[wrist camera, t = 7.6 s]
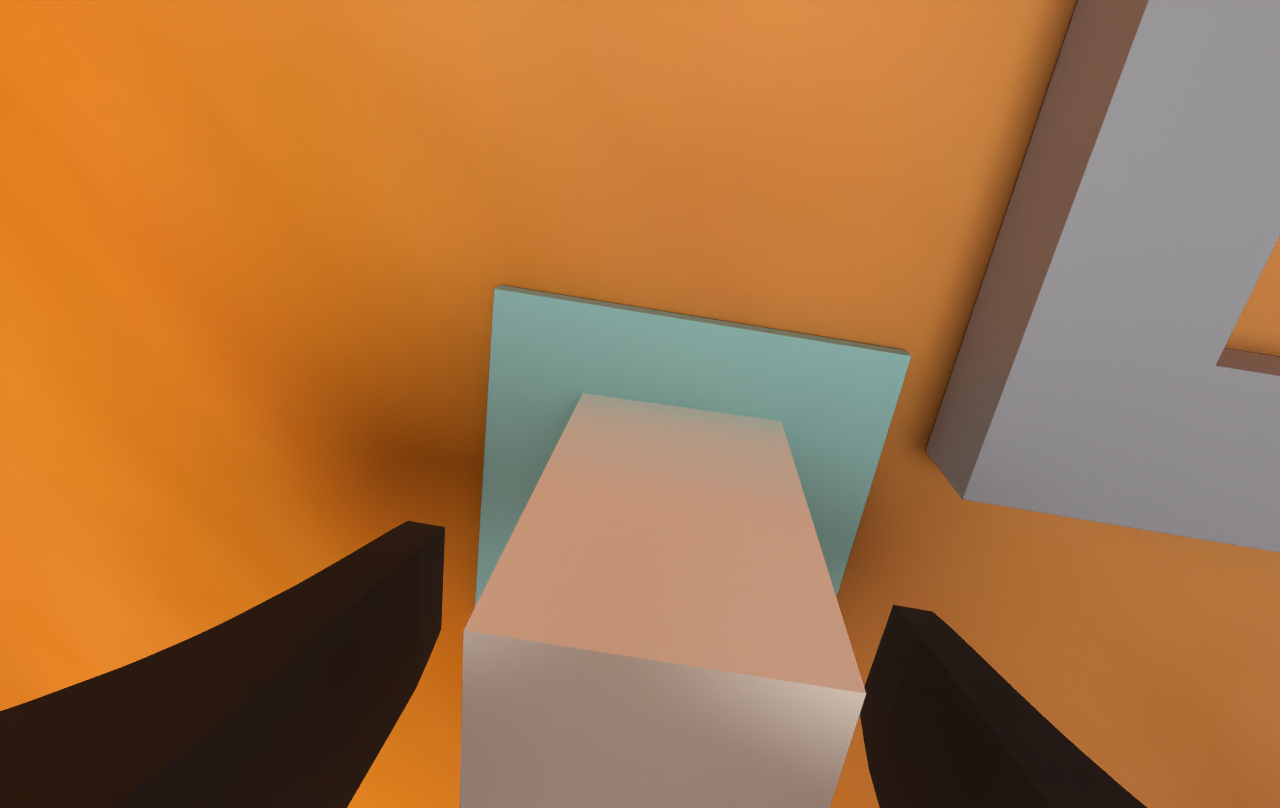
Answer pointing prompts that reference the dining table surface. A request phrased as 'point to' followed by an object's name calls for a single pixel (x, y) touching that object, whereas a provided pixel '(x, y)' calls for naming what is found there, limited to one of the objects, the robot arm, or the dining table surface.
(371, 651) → the robot arm
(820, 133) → the dining table surface
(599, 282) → the dining table surface
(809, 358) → the pad
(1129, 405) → the pocket board
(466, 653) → the block
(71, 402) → the dining table surface
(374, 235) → the dining table surface
